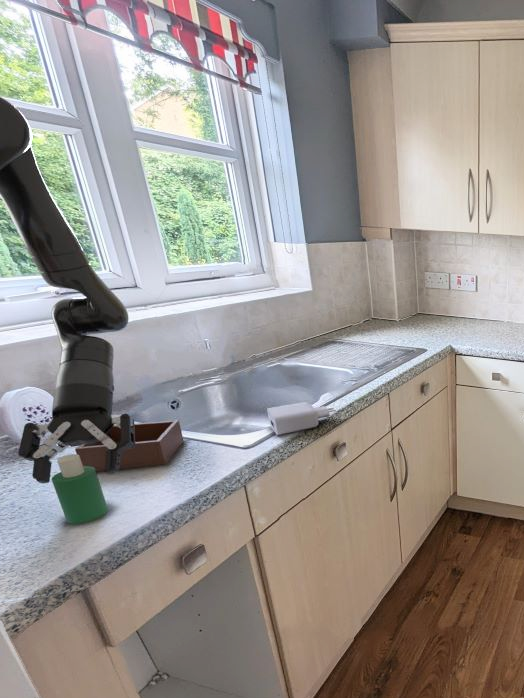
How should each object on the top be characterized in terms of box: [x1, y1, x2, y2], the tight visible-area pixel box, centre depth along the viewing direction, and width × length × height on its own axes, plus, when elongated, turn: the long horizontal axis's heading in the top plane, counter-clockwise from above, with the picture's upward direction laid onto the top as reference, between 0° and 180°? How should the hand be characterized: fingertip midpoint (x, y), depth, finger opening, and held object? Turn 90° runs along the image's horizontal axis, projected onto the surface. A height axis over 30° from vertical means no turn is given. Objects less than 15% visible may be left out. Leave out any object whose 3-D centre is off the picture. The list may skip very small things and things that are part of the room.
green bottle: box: [51, 453, 109, 525], centre depth 76 cm, size 5×5×11 cm
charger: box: [266, 401, 337, 436], centre depth 116 cm, size 5×9×15 cm
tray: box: [74, 419, 185, 472], centre depth 96 cm, size 14×12×5 cm
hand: (77, 477), depth 75 cm, fingers open, 8 cm apart
